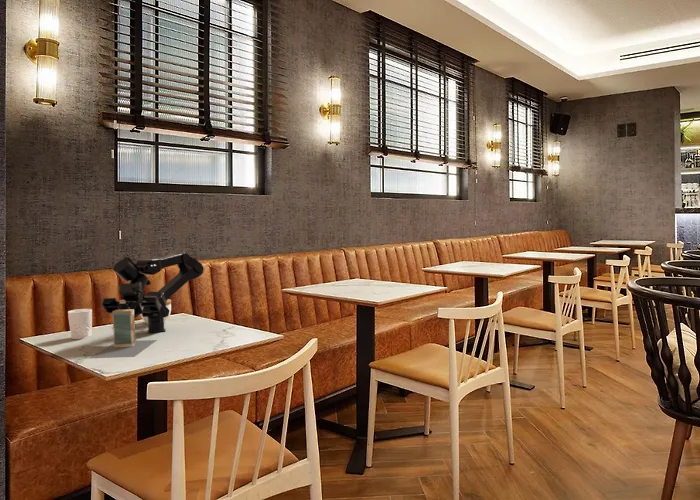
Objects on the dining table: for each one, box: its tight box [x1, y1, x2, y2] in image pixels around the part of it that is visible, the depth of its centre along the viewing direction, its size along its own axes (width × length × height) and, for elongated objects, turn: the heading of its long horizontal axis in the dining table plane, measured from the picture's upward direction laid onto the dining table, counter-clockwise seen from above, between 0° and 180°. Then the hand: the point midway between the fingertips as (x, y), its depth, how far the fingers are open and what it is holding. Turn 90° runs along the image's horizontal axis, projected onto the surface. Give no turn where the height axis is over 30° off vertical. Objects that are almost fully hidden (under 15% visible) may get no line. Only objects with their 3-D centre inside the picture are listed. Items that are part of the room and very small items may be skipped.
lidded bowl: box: [140, 298, 172, 325], centre depth 222 cm, size 13×13×11 cm
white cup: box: [67, 308, 93, 340], centre depth 199 cm, size 8×8×10 cm
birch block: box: [111, 308, 137, 347], centre depth 181 cm, size 3×6×12 cm, turn 92°
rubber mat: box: [89, 339, 158, 359], centre depth 178 cm, size 22×14×1 cm, turn 2°
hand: (125, 325), depth 183 cm, fingers closed
